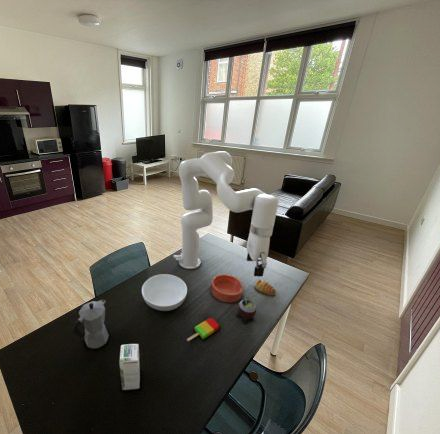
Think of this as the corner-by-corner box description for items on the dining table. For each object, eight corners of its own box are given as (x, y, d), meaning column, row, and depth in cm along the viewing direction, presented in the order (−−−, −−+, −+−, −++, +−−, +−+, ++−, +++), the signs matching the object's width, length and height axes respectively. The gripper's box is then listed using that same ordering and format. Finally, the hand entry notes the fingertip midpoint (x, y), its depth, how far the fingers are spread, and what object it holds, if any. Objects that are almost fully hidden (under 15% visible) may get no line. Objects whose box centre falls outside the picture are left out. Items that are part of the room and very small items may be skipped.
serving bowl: (137, 290, 118) (137, 279, 115) (177, 281, 124) (177, 270, 121) (148, 323, 100) (148, 310, 97) (194, 310, 106) (194, 299, 103)
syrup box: (123, 372, 82) (119, 344, 75) (140, 371, 82) (138, 342, 76) (122, 390, 77) (118, 361, 70) (140, 389, 77) (138, 360, 71)
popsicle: (220, 328, 98) (220, 325, 97) (191, 347, 90) (191, 344, 89) (210, 319, 102) (211, 316, 101) (182, 336, 94) (182, 333, 94)
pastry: (277, 291, 117) (278, 285, 115) (271, 298, 113) (273, 292, 111) (258, 282, 123) (260, 276, 121) (252, 288, 119) (254, 282, 117)
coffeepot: (100, 321, 101) (95, 288, 93) (117, 331, 96) (113, 298, 89) (70, 350, 89) (61, 315, 82) (87, 363, 85) (80, 327, 77)
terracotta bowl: (213, 302, 111) (214, 294, 108) (209, 281, 124) (210, 273, 122) (245, 303, 110) (246, 295, 108) (237, 282, 123) (239, 274, 121)
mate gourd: (253, 326, 99) (260, 298, 92) (234, 321, 101) (238, 294, 95) (253, 312, 105) (259, 286, 99) (235, 308, 107) (239, 282, 101)
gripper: (244, 218, 94) (239, 255, 101) (258, 240, 78) (250, 282, 85) (264, 219, 93) (257, 255, 101) (281, 241, 78) (272, 283, 85)
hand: (254, 267), depth 93 cm, fingers open, 9 cm apart
